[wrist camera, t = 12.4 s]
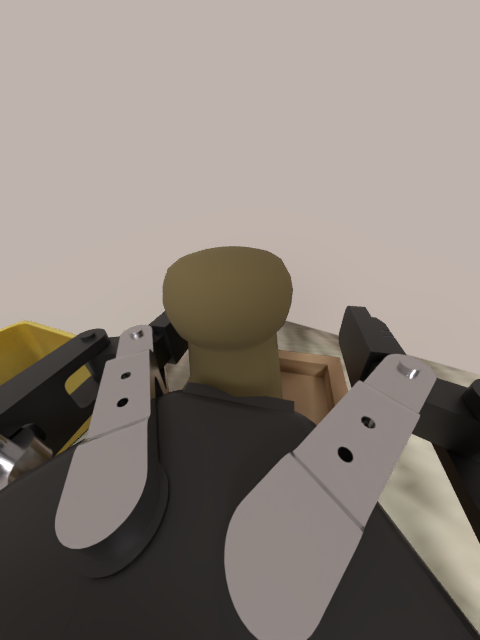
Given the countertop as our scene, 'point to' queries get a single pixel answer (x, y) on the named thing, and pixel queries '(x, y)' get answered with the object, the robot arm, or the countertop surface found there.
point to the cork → (230, 317)
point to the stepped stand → (311, 383)
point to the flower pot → (36, 356)
